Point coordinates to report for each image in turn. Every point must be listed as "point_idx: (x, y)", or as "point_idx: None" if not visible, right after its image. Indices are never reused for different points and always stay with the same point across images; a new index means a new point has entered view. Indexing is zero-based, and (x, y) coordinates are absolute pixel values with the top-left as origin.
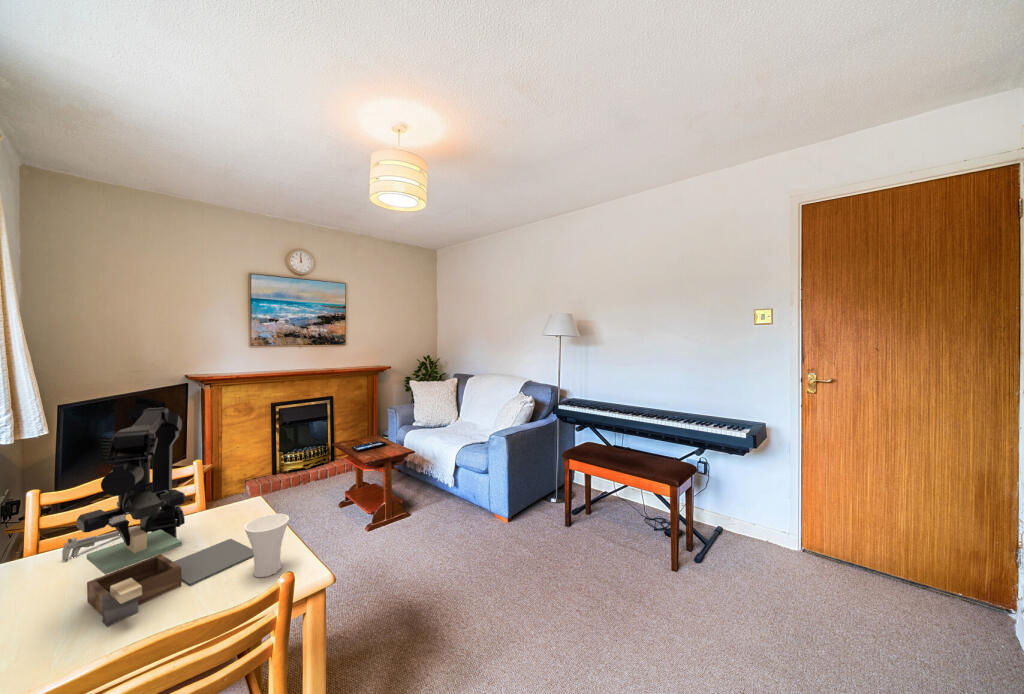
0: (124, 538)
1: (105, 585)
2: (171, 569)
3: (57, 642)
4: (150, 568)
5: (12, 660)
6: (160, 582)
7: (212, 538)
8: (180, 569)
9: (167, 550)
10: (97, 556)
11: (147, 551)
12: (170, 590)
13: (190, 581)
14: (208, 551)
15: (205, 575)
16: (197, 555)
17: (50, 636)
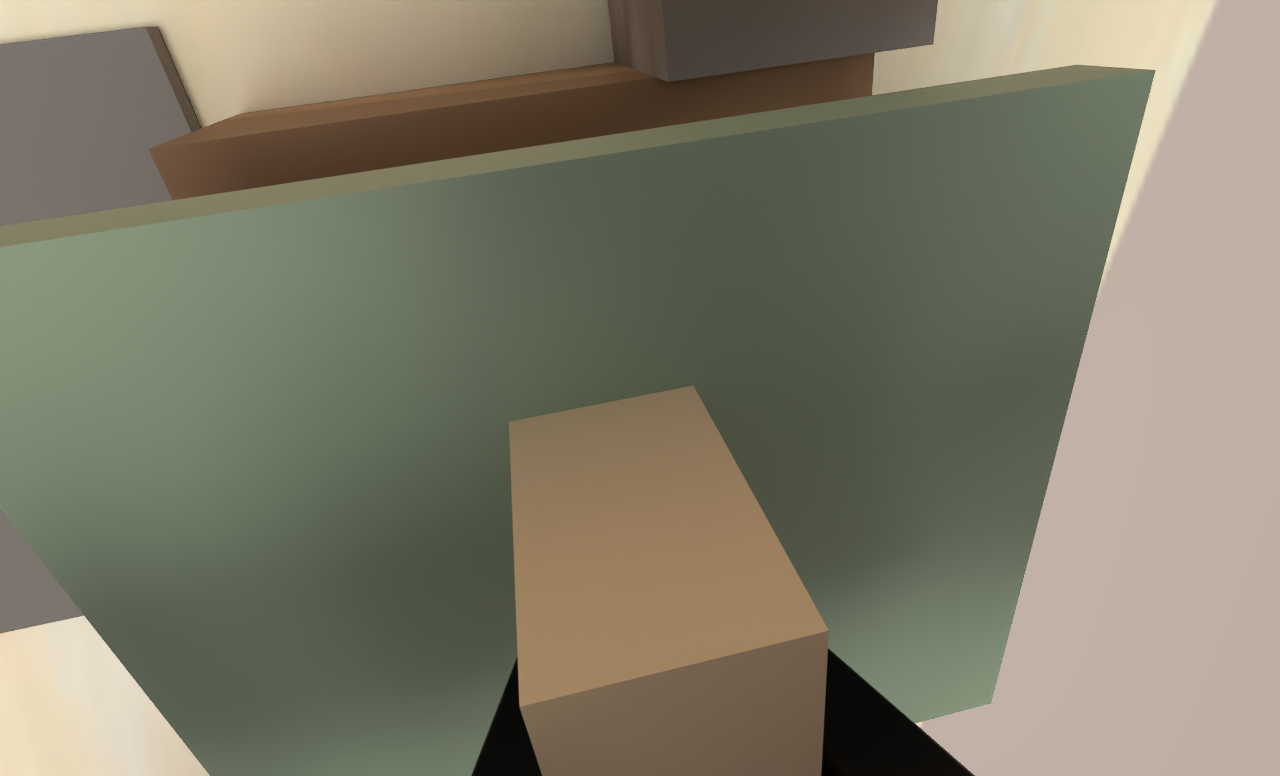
0: (898, 711)
1: None
2: (265, 178)
3: (1027, 5)
4: None
5: (1196, 16)
6: (398, 105)
7: (30, 747)
8: (171, 141)
9: (183, 201)
10: (974, 596)
11: (517, 279)
12: (334, 102)
13: (143, 85)
14: (21, 562)
15: None
16: None
17: None
